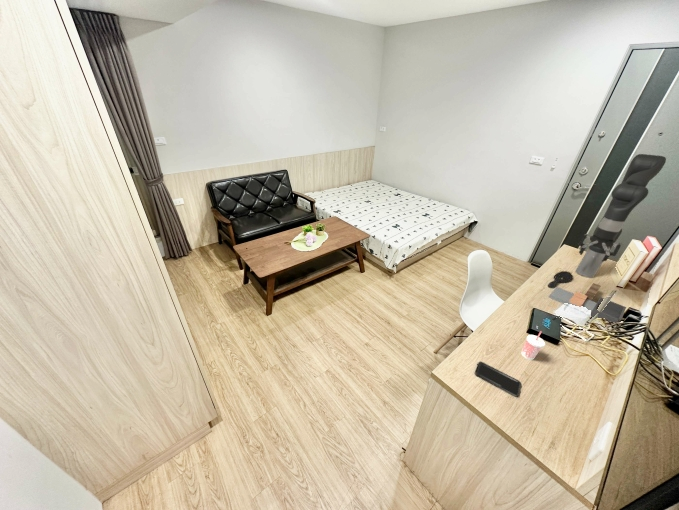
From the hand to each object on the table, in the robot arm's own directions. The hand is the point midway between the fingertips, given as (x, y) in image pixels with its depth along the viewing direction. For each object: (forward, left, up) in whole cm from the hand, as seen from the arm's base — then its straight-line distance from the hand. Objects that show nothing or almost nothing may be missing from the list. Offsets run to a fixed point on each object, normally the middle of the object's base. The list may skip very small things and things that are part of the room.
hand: (591, 257), depth 129 cm
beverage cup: (+59, +1, -27) cm, 65 cm away
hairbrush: (-18, -9, -28) cm, 34 cm away
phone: (+81, -2, -28) cm, 86 cm away
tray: (-1, +16, -27) cm, 31 cm away
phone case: (+24, +8, -28) cm, 38 cm away
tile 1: (-4, +4, -25) cm, 26 cm away
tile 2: (+2, +4, -25) cm, 26 cm away
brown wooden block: (-14, +7, -27) cm, 31 cm away
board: (-1, +2, -27) cm, 27 cm away
